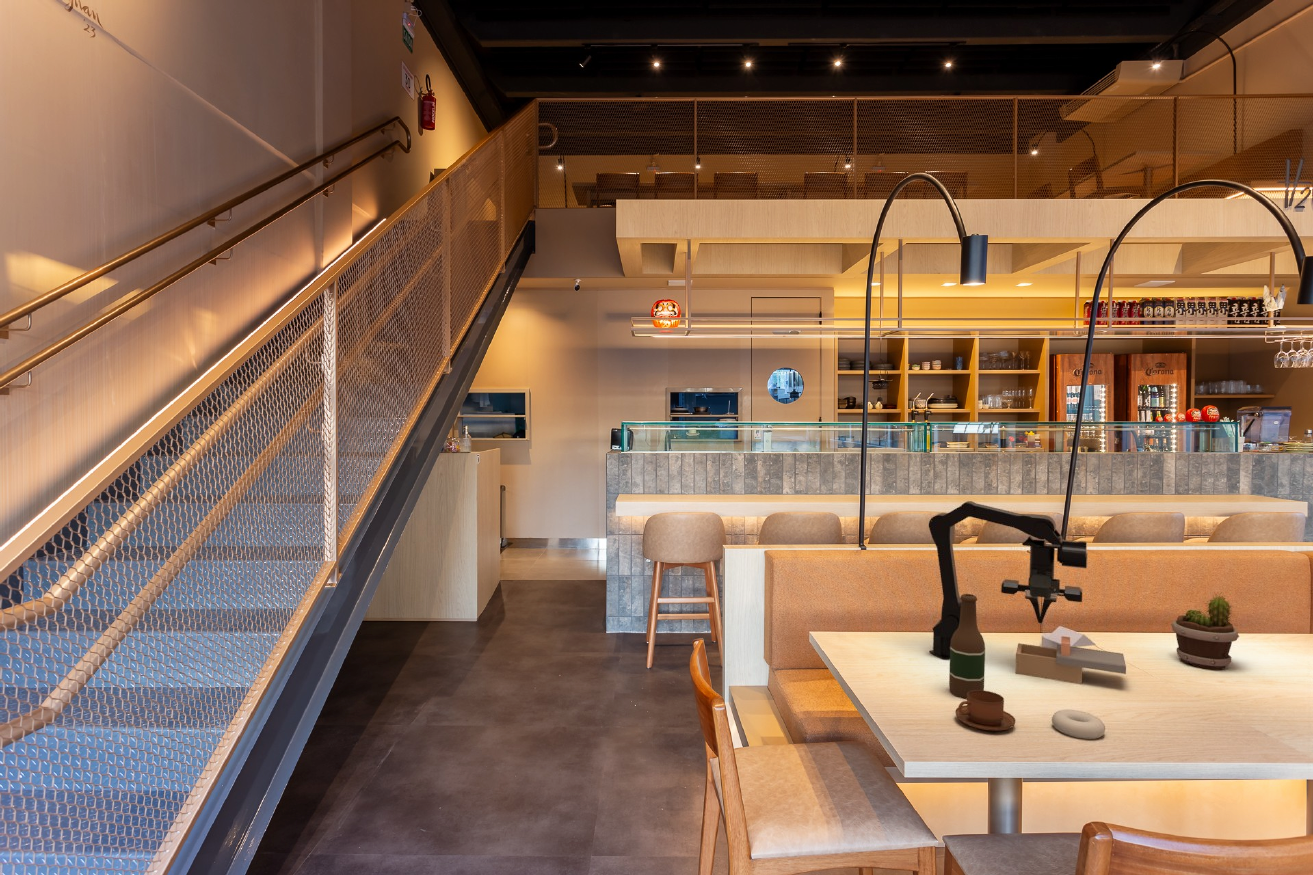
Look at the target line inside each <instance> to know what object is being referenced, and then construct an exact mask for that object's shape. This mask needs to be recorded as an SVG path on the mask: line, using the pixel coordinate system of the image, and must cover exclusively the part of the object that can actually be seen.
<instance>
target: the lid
mask: <svg viewBox="0 0 1313 875" xmlns="http://www.w3.org/2000/svg"><path fill="white" fill-rule="evenodd" d="M1056 664H1062V665H1068V666H1075V667H1082V669H1090V670H1097V671H1101V672H1109V673H1116V674H1123V675H1127V665H1126V661H1125V655H1124V653H1120V652H1114V651H1108V650H1107V651H1106V650H1099V649H1092V648H1087V647H1086V648H1085V647H1072V646H1070V637H1064V636H1062V637H1061V645H1057V655H1056Z"/></svg>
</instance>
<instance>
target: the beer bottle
mask: <svg viewBox="0 0 1313 875" xmlns="http://www.w3.org/2000/svg"><path fill="white" fill-rule="evenodd" d="M960 599H961V600H962V601H961V612H960V622H959V626H958V628H957V630H956V631H955V632H954V634H953V636H952V638H951V644H950V659H949V676H948V677H949V681H948V683H949V685H948V686H949V691H950V693H951V694H952V695H953V696H955V697H957V698H960V699H961V698H962V699H966V700H967V693H968V692H969V691H973V690H983V691H985V673H986V672H985V670H986V668H985V666H986V644H985V641H984V637H983V635H982V633H981V632H980V631H979V628H978V620H977V601H978V597H977V596H976V595H974V594H972V593H963V594H961V595H960Z"/></svg>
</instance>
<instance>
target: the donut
mask: <svg viewBox="0 0 1313 875" xmlns="http://www.w3.org/2000/svg"><path fill="white" fill-rule="evenodd" d="M1051 722H1052V724H1053V726H1054V728H1055V729H1056V730H1058V731H1059V732H1060V733H1062V734H1064V735H1067V736H1070V737H1074V738H1076V739H1077V738H1078V739H1085V740H1094V739H1099V738H1101V737H1102V736H1104V734H1105V732H1106V725H1105V723H1104V722H1103V720H1102V719H1101V718H1099V717H1098V716H1096V715H1094V714H1091V713H1089V712H1086V711H1083V710H1078V709H1077V710H1076V709H1061V710H1058V711H1055V712H1054V713H1053V715H1052V716H1051Z"/></svg>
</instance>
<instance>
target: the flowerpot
mask: <svg viewBox="0 0 1313 875" xmlns="http://www.w3.org/2000/svg"><path fill="white" fill-rule="evenodd" d="M1222 592H1223V591H1222ZM1222 592H1221V593H1220V594H1219V595H1217V594H1214V595H1215V596H1212V598H1208V599H1207V603H1206V604H1205V605H1206V606H1205V607H1206V608H1207V609H1206V610H1204V611H1206V612H1205V613H1204V611H1202V610H1201V609H1198V608H1197V607H1195V608H1192V607H1189V609H1187V610H1186V612H1185V615H1178V617H1177V618H1176V619H1175V620H1173V621H1172V623H1171V624H1170V625H1171V629H1172V631H1173V632H1174V633H1175V637H1176V642H1177V646H1178V647H1177V648H1176V650H1175V652H1176V654H1177V656H1178V657H1179V658H1180V660H1181V662H1182V663H1184V664H1191V665H1192V666H1193V667H1196V668H1199V667H1200V668H1201V669H1206V670H1223V669H1225V668H1226V666H1229V665H1230V664H1231V663H1233V662H1232V661H1233V660H1232V656H1231V655H1230V651H1231V647H1232V643H1233V642H1236V641H1237V640H1238V639H1239V638H1240V635H1239V632H1238V630H1237V629H1236V628H1234V625H1233V623H1231V618H1232V617H1233V612H1234V611H1232V610H1233V606H1232V605H1231V603H1230V600H1226V599H1227V598H1226V596H1227V595H1225V594H1222Z"/></svg>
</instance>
